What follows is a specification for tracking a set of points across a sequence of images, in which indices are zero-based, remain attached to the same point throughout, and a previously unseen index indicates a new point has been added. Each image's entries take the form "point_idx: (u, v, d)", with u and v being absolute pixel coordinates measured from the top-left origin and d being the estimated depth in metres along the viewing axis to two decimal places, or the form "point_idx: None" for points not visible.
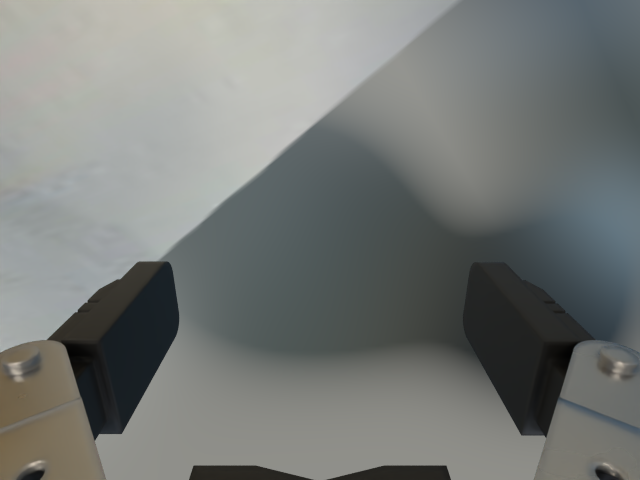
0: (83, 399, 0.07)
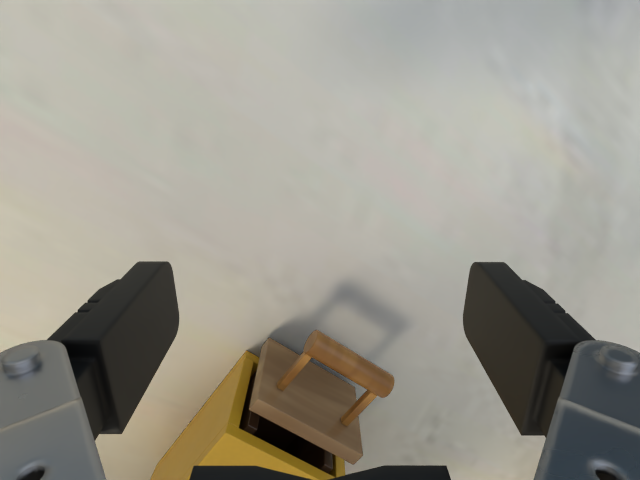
0: (83, 399, 0.07)
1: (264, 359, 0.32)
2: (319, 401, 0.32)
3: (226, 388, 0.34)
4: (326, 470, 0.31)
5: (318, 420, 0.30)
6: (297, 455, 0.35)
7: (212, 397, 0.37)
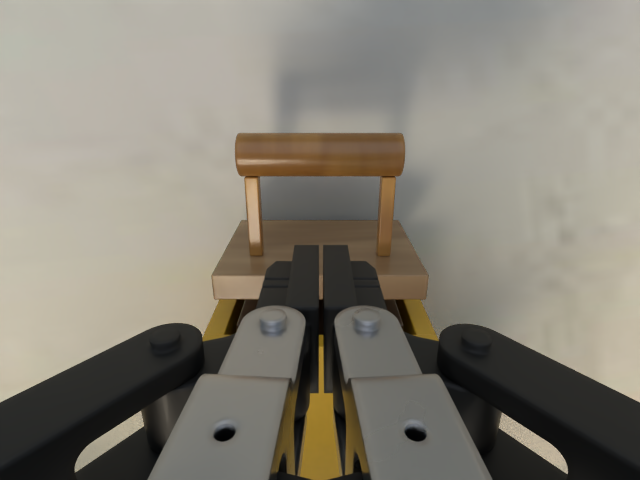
0: (309, 358, 0.08)
1: (231, 239, 0.21)
2: None
3: None
4: None
5: None
6: None
7: None
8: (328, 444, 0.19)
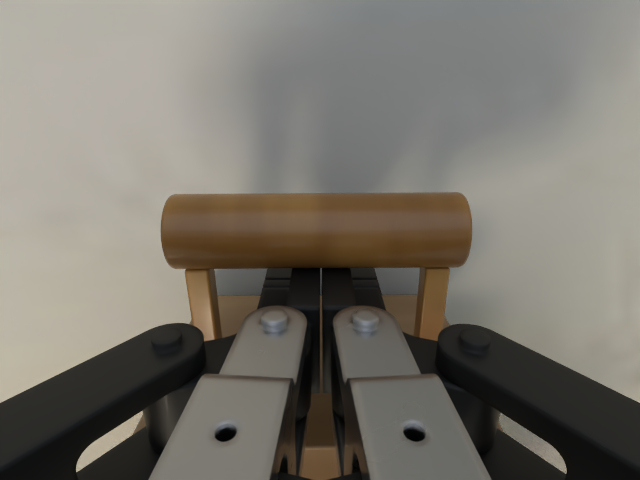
0: (311, 358, 0.08)
1: None
2: None
3: None
4: None
5: None
6: None
7: None
8: None
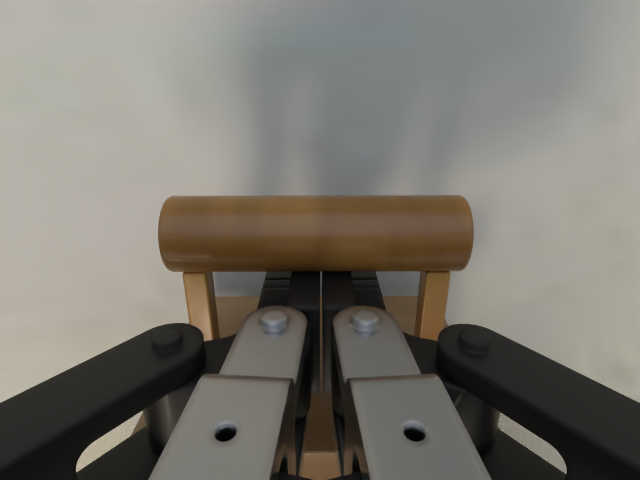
0: (310, 358, 0.08)
1: None
2: None
3: None
4: None
5: None
6: None
7: None
8: None
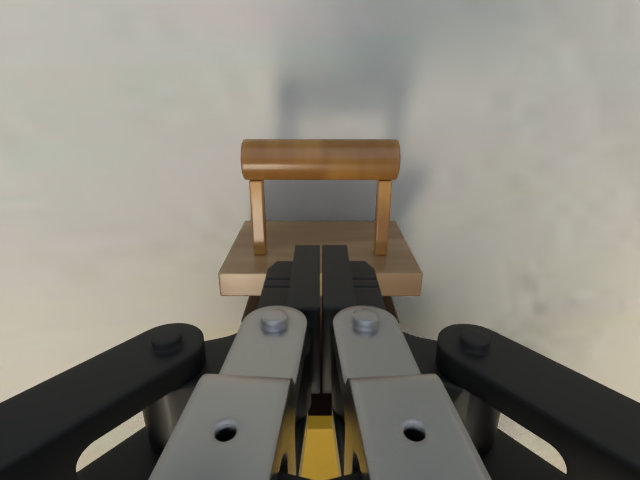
0: (310, 358, 0.08)
1: None
2: None
3: None
4: None
5: None
6: None
7: None
8: None
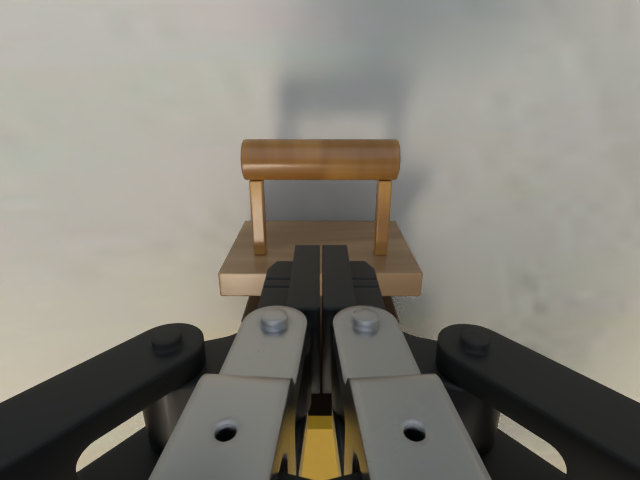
0: (310, 358, 0.08)
1: None
2: None
3: None
4: None
5: None
6: None
7: None
8: None
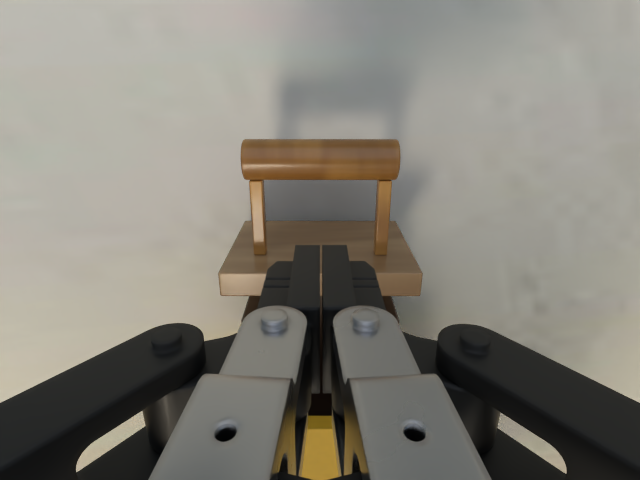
0: (310, 358, 0.08)
1: None
2: None
3: None
4: None
5: None
6: None
7: None
8: None
